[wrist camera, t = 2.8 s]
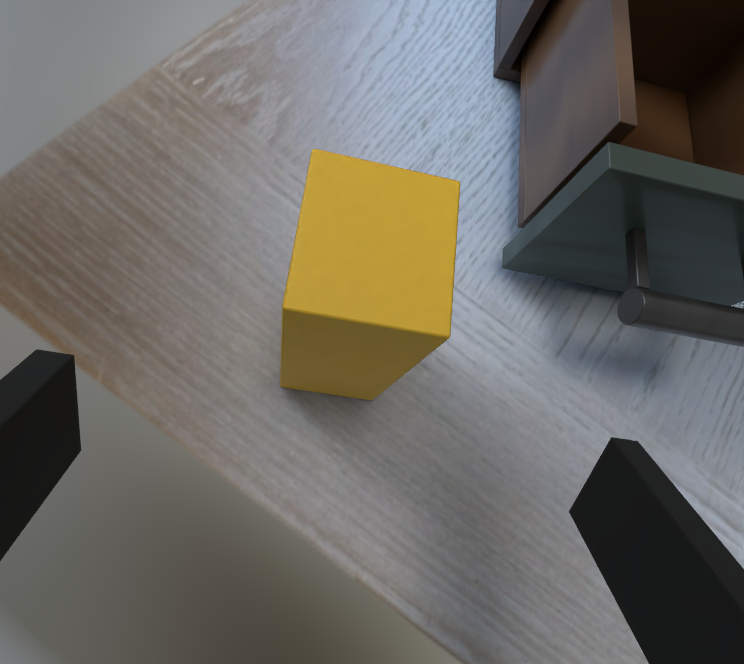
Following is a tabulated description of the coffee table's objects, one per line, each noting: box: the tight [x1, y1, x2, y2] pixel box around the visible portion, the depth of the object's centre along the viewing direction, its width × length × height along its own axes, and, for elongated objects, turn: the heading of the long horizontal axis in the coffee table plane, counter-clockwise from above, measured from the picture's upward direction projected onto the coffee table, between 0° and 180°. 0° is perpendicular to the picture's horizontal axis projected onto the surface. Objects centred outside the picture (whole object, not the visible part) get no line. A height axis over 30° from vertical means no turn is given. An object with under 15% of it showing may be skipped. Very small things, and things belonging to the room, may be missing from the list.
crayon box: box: [280, 149, 460, 400], centre depth 18 cm, size 4×5×11 cm
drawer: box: [502, 0, 744, 347], centre depth 24 cm, size 20×13×9 cm
